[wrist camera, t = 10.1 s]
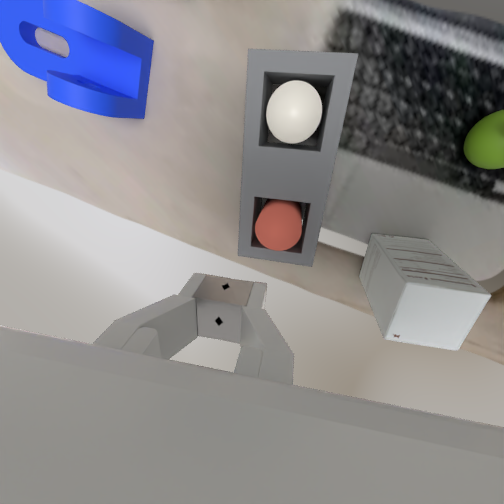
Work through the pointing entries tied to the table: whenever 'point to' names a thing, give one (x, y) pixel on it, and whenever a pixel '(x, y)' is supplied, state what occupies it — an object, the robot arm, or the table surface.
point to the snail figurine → (486, 142)
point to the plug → (294, 111)
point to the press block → (290, 146)
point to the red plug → (279, 224)
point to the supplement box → (419, 292)
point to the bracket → (80, 55)
